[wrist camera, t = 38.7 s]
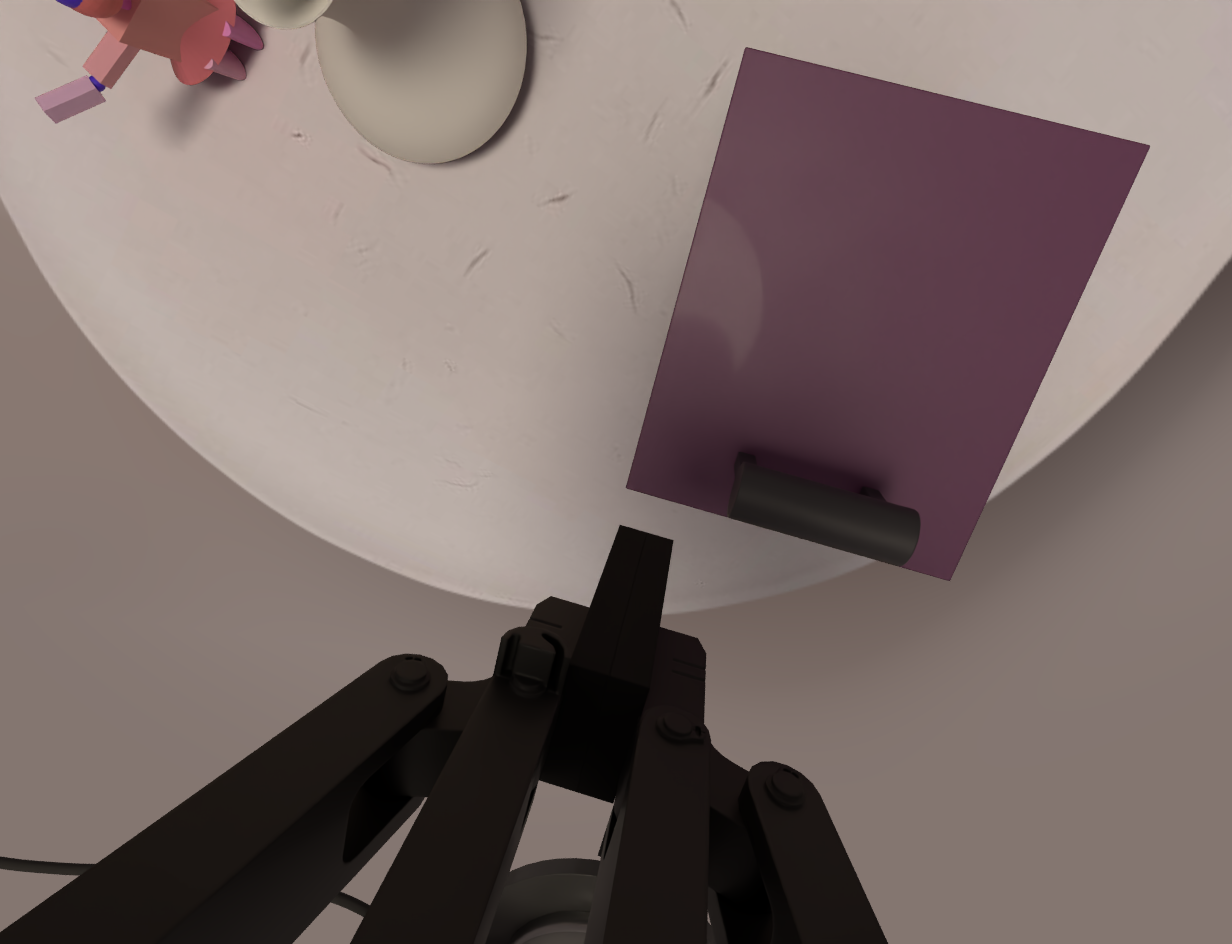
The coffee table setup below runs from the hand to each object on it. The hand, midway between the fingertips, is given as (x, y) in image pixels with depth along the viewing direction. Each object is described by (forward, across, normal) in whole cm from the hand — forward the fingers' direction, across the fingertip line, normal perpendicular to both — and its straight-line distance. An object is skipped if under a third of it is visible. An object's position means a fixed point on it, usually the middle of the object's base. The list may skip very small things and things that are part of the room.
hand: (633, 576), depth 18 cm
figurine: (+24, -30, +12) cm, 40 cm away
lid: (+11, +6, +7) cm, 14 cm away
